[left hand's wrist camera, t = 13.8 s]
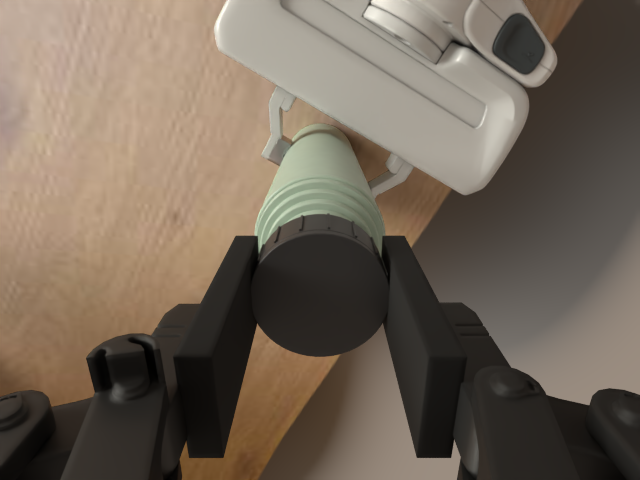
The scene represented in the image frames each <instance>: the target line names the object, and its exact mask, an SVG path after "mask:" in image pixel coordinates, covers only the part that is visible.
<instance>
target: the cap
mask: <svg viewBox="0 0 640 480" xmlns="http://www.w3.org/2000/svg"><path fill="white" fill-rule="evenodd" d="M256 262H257V265H256V268H255V271H254V274H253V277H252V280H251V298H252V311H253V315H254V318H255V320H256V321H257V323H258V325H259V326H260V328H261V329H262V330H263V332H264V333H265V334H266V335H267V336H268V337H269V338H270V339H271V340H273V341H274V342H275V343H276V344H278V345H280V346H281V347H283V348H285V349H287V350H289V351H292V352H295V353H298V354H302V355H306V356H315V357H325V356H334V355H338V354H342V353H345V352H348V351H350V350H353V349H355V348H357V347H359V346H360V345H362V344H363V343H365V342H366V341H367V340H368V339H370V338H371V337H372V336H373V335H374V334H375V333H376V332H377V330H378V329H379V328H380V326H381V325H382V323H383V321H384V319H385V317H386V314H387V312H388V302H389V287H390V286H389V281H388V274H387V271H386V268H385V265H384V262H383V259H382V258H381V256H380V253H379V251H378V248H377V246H376V245H375V242H374V239H373V237H370V236H369V235H368V234H367V233H366V232H365V231H364V230H363V229H362V228H360V227H359V226H358V225H356V224H355V222H354V221H352V222H351V221H349V220H347V219H344V218H342V217H338V216H334V215H330V213H327V214H312V215H306V216H303V215H301V217H298V218H296V219H293V220H291V221H289V222H287V223H285V224H283V225H282V226H281V227H280V226H278V228H277V230H276V231H275V232H274V233H273V234H272V235H271V236H270V237H269V239H268V240H267V241H266V243H265V244H263V245H262V247H261V250H260V253H259V256H258V259H257V261H256Z"/></svg>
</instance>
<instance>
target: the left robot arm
mask: <svg viewBox="0 0 640 480" xmlns="http://www.w3.org/2000/svg"><path fill="white" fill-rule="evenodd" d="M258 256H259V247H258V236H236V237H235V238H234V240H233V242H232V244H231V246H230V248H229V250H228V252H227V254H226V256H225V258H224V260H223V261H222V263H221V265H220V267H219V269H218V271H217V273H216V275H215V277H214V279H213V281H212V283H211V284H210V286H209V288H208V290H207V292H206V294H205V296H204V298H203V300H202V302H201V304H178V305H177V306H175V307H174V308H173V309H171V310H170V311H168V312H167V313H166V314H165V315H164V317H163V318H162V320H161V321H160V323H159V324H158V328H156V329H155V330H154V332H153V334H152V336H150V335H147V334H127V335H122V336H118V337H115V338H112V339H110V340H108V341H105V342H103V343H102V344H100V345H99V346H97V347H96V348H94V349H93V350H92V351H91V353H90V354H89V355H88V356H87V358H86V359H87V363H88V367H89V371H90V375H91V379H92V383H93V387H94V390H95V394H94V396H93V397H92V398H88V399H85V400H81V401H77V402H72V403H68V404H63V405H59V406H54V407H51V404H50V401H49V398H48V397H47V396H46V395H45V394H44V393H43V392H39V391H34V390H28V391H19V392H15V393H11V394H8V395H5V396H2V397H0V480H182V472H181V465H180V460H179V459H180V456H181V453H182V451H183V448H184V445H185V442H186V441H187V447H188V454H189V458H223V457H224V453H225V449H226V445H227V441H228V437H229V433H230V429H231V425H232V422H233V418H234V414H235V410H236V406H237V402H238V398H239V394H240V390H241V386H242V382H243V378H244V374H245V370H246V366H247V362H248V358H249V354H250V350H251V346H252V342H253V338H254V334H255V330H256V326H257V321H256V320H255V318H254V315H253V311H252V298H251V280H252V277H253V274H254V271H255V268H256V265H257V262H256V261H257V259H258ZM381 258H382V259H383V262H384V265H385V268H386V271H387V274H388V281H389V286H390V287H389V302H388V312H387V314H386V317H385V319H384V321H383V325H384V329H385V333H386V337H387V341H388V345H389V349H390V353H391V357H392V361H393V365H394V369H395V372H396V377H397V381H398V385H399V389H400V393H401V397H402V401H403V404H404V409H405V413H406V416H407V420H408V424H409V428H410V432H411V436H412V440H413V444H414V448H415V452H416V456H417V458H451V455H452V449H453V443H454V440H455V442H456V445H457V448H458V450H459V453H460V456H461V460H460V465H459V471H458V477H457V480H640V395H638V394H635V393H632V392H629V391H626V390H619V389H610V388H609V389H603V390H599V391H597V392H596V393H595V394H594V395H593V396H592V399H591V402H590V405H585V404H580V403H576V402H571V401H567V400H562V399H558V398H555V397H551V396H548V395H546V393H545V391H544V390H543V388H542V387H541V385H540V384H539V383H538V382H537V381H536V380H534V379H533V378H532V377H531V376H529V375H528V374H526V373H524V372H521V371H519V370H517V369H514V368H511V367H510V365H509V364H508V362H507V360H506V359H505V358H504V356H503V354H502V353H501V351H500V350H499V348H498V347H497V345H496V344H495V342H494V341H493V339H492V337H491V336H489V333H488V331H487V330H486V328H485V327H484V326H483V324H482V322H481V321H480V319H479V317H478V316H477V314H476V313H475V312H474V311H472V310H471V309H470V308H468V307H467V306H465V305H464V304H463V303H439V301H438V299H437V297H436V295H435V294H434V292H433V290H432V288H431V286H430V284H429V282H428V280H427V278H426V276H425V274H424V272H423V271H422V269H421V267H420V265H419V263H418V261H417V259H416V257H415V255H414V253H413V251H412V249H411V247H410V246H409V244H408V242H407V240H406V238H405V236H382V252H381Z"/></svg>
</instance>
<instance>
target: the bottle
mask: <svg viewBox="0 0 640 480" xmlns="http://www.w3.org/2000/svg"><path fill="white" fill-rule="evenodd" d="M327 213H330V215H334V216H338V217H342V218H344V219H347V220H349V221H351V222H352V221H354V222H355V224H356V225H358V226H359V227H360V228H362V229H363V230H364V231H365V232H366V233H367V234H368V235H369V236H370V237H373V239H374V242H375V245H376V246H377V248H378V251H379V253H380V256H381V252H382V236H385V226H384V221H383V218H382V215H381V213H380V210H379V208H378V206H377V204H376V201H375V199H374V197H373V194H372V192H371V190H370V188H369V185H368V183H367V181H366V178H365V176H364V174H363V172H362V169H361V167H360V165H359V162H358V160H357V158H356V156H355V153H354V151H353V149H352V146H351V144H350V142H349V140H348V138H347V137H346V136H345V134H344V133H343V132H342V131H340V130H339V129H338V128H336V127H334V126H332V125H329V124H322V123H318V124H312V125H309V126H306V127H304V128H303V129H301V130H300V131H299V132H298V133H296V135H295V136H294V137H293V139H292V144H291V146H290V148H289V150H288V151H287V153H286V154H285V156H284V158H283V160H282V163H281V165H280V167H279V169H278V172H277V174H276V176H275V178H274V181H273V183H272V185H271V187H270V190H269V192H268V194H267V197H266V199H265V201H264V203H263V206H262V208H261V210H260V212H259V215H258V218H257V221H256V226H255V236H258V247H259V253H260V250H261V247H262V245H263V244H265V243H266V241H267V240H268V239H269V237H270V236H271V235H272V234H273V233H274V232H275V231H276V230H277V228H278V226H280V227H281V226H282V225H283V224H285V223H287V222H289V221H291V220H293V219H296V218H298V217H301V215H303V216H306V215H312V214H327Z"/></svg>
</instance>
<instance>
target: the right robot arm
mask: <svg viewBox="0 0 640 480" xmlns="http://www.w3.org/2000/svg"><path fill="white" fill-rule="evenodd" d="M214 35H215V39H216V43H217V47H218V50H219V51H220V52H221V53H223V54H225V55H226V56H228V57H230V58H231V59H233V60H235V61H236V62H238V63H240V64H242V65H243V66H245V67H247V68H248V69H250V70H252V71H253V72H255V73H257V74H259V75H260V76H262V77H264V78H265V79H267V80H269V81H270V82H272V83H274V84H275V85H277V86H276V88H275V90H274V92H273V94H272V96H271V98H270V100H269V115H270V132H271V133H272V135H271V137H270V139H269V141H268V143H267V145H266V147H265V149H264V151H263V153H262V155H261V156H262V157H263V158H265V159H268V160H269V161H271V162H273V163H275V164H277V165H278V166H280V165H281V163H282V160H283V158H284V156H285V154H286V153H287V151H288V150H289V148H290V146H291V144H292V140H290V139H289V138H287V137H285V136H284V135H283V116H282V110H284V111H286V112H287V111H289V110H290V109H291V107H292V105H293V103H294V101H295V99H296V98H297V97H298V98H299V99H301V100H303V101H304V102H306V103H308V104H309V105H311V106H313V107H315V108H316V109H318V110H320V111H321V112H323V113H325V114H326V115H328V116H330V117H331V118H333V119H335V120H337V121H338V122H340V123H342V124H343V125H345V126H347V127H348V128H350V129H352V130H354V131H355V132H357V133H359V134H360V135H362V136H364V137H365V138H367V139H369V140H371V141H372V142H374V143H376V144H377V145H379V146H381V147H382V148H384V149H386V150H387V151H389V152H391V154H390V156H389V158H388V159H387V161H386V163H385V166H386V167H387V168H388V171H387V172H385V173H383V174H382V175H380V176H378V177H377V178H375V179H373V180H371V181H370V182H368V185H369V188H370V190H371V192H372V194H373V197H374V199H375V198H376V196H377V195H378V194H381V193H383V192H385V191H387V190H389V189H391V188H393V187H394V186H396V185H398V184H400V183H402V182H404V181H405V180H406V179H407V177H408V176H409V174H410V173H411V171H412V169H413V168H414V166H415V167H416V168H418V169H420V170H421V171H423V172H425V173H427V174H428V175H430V176H432V177H433V178H435V179H437V180H438V181H440V182H442V183H444V184H445V185H447V186H449V187H450V188H452V189H454V190H456V191H457V192H459V193H461V194H462V195H468V194H472V193H474V192H476V191H479V190H481V189H483V188H484V187H485V186H486V185H487V184H488V183H489V181H490V180H491V179H492V177H493V176H494V174H495V173H496V172H497V170H498V169H499V167H500V166H501V164H502V163H503V161H504V160H505V158H506V157H507V155H508V153H509V152H510V150H511V148H512V147H513V145H514V143H515V141H516V140H517V138H518V136H519V134H520V133H521V131H522V129H523V127H524V125H525V122H526V120H527V116H528V112H529V99H528V95H527V93H526V91H525V89H524V88H532V87H538V86H540V85H542V84H543V83H544V82H545V81H546V80H547V79H548V78H549V77H550V75H551V74H552V72H553V71H554V69H555V67H556V65H557V55H556V53H555V51H554V49H553V47H552V46H551V44H550V43H549V41H548V40H547V38H546V37H545V35H544V34H543V32H542V31H541V29H540V28H539V26H538V24H537V23H536V21H535V20H534V18H533V17H532V15H531V13H530V12H529V10H528V9H527V7H526V5H525V3H524V2H523V0H227V1H226V3H225V4H224V6H223V8H222V10H221V13H220V15H219V17H218V19H217V21H216V24H215V26H214Z"/></svg>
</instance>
